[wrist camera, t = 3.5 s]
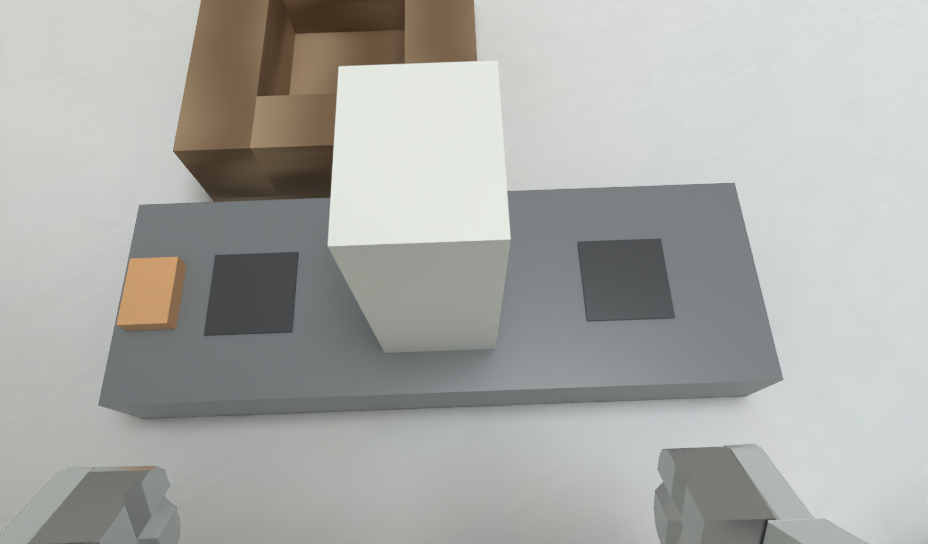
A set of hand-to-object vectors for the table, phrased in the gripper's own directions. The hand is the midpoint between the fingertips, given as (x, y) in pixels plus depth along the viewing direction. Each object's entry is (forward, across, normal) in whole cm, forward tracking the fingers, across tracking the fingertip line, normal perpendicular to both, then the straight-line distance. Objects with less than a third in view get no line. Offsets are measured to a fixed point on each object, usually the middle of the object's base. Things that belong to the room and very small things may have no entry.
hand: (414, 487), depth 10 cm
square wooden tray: (+23, +4, -4) cm, 24 cm away
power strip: (+15, 0, +4) cm, 15 cm away
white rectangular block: (+14, 0, +3) cm, 14 cm away
